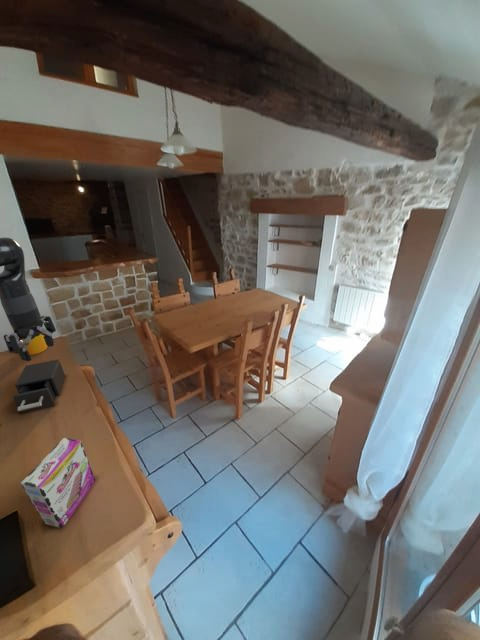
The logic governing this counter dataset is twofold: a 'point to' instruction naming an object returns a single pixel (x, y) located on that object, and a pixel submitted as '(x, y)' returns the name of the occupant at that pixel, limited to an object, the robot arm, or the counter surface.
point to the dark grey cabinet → (43, 375)
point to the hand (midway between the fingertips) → (39, 352)
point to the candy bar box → (59, 482)
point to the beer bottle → (36, 344)
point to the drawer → (35, 396)
